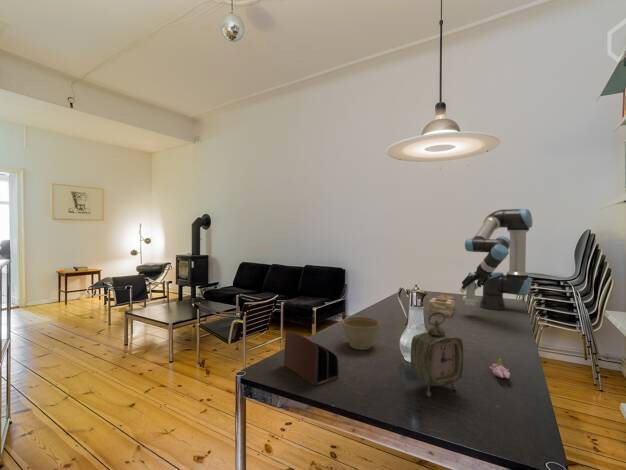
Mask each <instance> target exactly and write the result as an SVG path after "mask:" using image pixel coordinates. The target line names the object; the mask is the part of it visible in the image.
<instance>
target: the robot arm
mask: <svg viewBox="0 0 626 470" xmlns="http://www.w3.org/2000/svg"><path fill="white" fill-rule="evenodd" d="M532 227H533V217H532V213H531V211H530V209H528V208H511V209H499V210H496V211H493V212H492V213H490V214H489V215H487V216H486V217H485V218H484V220H483V222H482V225H481V226H480V228H479V229H478V231H477V232H476V233H475V235H474V236H473V237H472V238H467V239H466V240H465V241H464V249H465V251H466V252H471V253H487V254H486V256H485V257H484V259H483V260H482V261H481V262H480V264H479V265H478V266H477V267H476V271H474V272H473V273H472V272H469V273H468V275H467V276H466V277H465V278H464V279H463V281H462V282H461V284H462V286H461V288H460V289H459V291H460V293H461V294H464V293H465V292H466V289H467V288H468V286H469V285H470V284H471V283H472V282H474V281H475V291H476V290H478V289H479V288H482V296H481V298H480V301H479V307H480V308H482V309H487V310H492V311H505V310H506V309H507V306H506V305H507V304H506V302H505V298H504V294H507V295H508V294H509V295H517V296H527V295H529V293H530V291H531V287H532V277H530V276H529V273H528V272H526V271H527V270H526V260H527V259H526V253H527V251H526V249H527V246H526V245H527V244H526V243H527V233H528V232H529V231H530V229H531V228H532ZM499 228H505V229H507V232H508V233H509V237H506V236H504V235H502V236H498V237H496V239H492V238H491V237H492V235H493V234H494V232H495V231H496V230H498V229H499ZM508 255H509V261H508V262H509V266H508V267H509V270H508V271H507V272H506V275H505V274H504V273H503V272H501V271H500V272H499V271H498V272H495V270H496V269H497V268H498V266H499V265H501V264H502V262H504V260H505V259H506V258H507V257H508Z"/></svg>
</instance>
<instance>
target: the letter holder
mask: <svg viewBox="0 0 626 470" xmlns="http://www.w3.org/2000/svg"><path fill="white" fill-rule="evenodd" d="M284 338H285V339H284V353H283V354H284V356H283V365H284V367H286V368H287V369H289V370H290V369H291V370H290V371H292V372H293V371H294V372H293V373H295V372H296V373H297V374H296V373H295V374H296V375H298V374H299V375H300V376H299V375H298V376H299V377H301V376H302V377H304V378H305V379H307V380H308V381H307V380H306V381H307V382H309V381H310V382H311V383H310V382H309V383H310V384H312V383H313V384H314V385H313V384H312V385H313V386H315V385H319V384H321V385H324V384H326V382H327V383H329V382H332V381H335V380H338V379H339V358H338V356H337V354H335V353H334V352H333V351H331V350H329V349H328V348H326V347H325V346H323V345H320V344H318V343H316V342H313V341H312V340H310V339H308V338H307V337H305V336H304V335H301V334H299V333H296V332H292V331H285V336H284ZM302 377H301V378H302ZM304 378H303V379H304ZM337 378H338V379H337ZM305 379H304V380H305ZM323 383H324V384H323ZM319 386H320V385H319Z"/></svg>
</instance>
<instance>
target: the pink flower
mask: <svg viewBox="0 0 626 470" xmlns="http://www.w3.org/2000/svg"><path fill="white" fill-rule="evenodd" d="M488 368H489V369H491V370H492V373H493V374H494V375H495V376H497V377H499V378H501V379H502V378H506V379H509V378H510V376H511V373H510V372H509V371H510V369H509V368H506V367H504V365H503V362H502V359H501V358H498V360H497V363H494V362H492V365H491V366H489V367H488Z"/></svg>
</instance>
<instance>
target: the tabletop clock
mask: <svg viewBox="0 0 626 470" xmlns="http://www.w3.org/2000/svg"><path fill="white" fill-rule="evenodd" d="M436 314H441V315H443V316H442V318H443V319H442V320H441V321H440V322H439V320H435V321H434V322H433V323H432V322H431V321H430V320H431V318H432V317H433V316H436ZM427 319H428V320H427V321H428V322H427V323H428V324H429V325H431V326H430V327H429V328H428V331H426V332H422V333H419V334H416V335H414V336H412V340H411V342H410V367H411V370H412V372H413V375H414V377H417V378H418V379H419V380H422V381H423V382H424V383H426V385H427V390H426V391H425V395H426V397H431V396H432V393H431V391H430V389H431V388H432V387H441V386H447V385H450V384H451V386H450V387H451V389H452V390H453V391H456V390H457V388H458V387H457V385H456V384H455V382H457V381H459V380H460V379H461V378H462V375H463V374H462V373H463V369H464V346H463V345H464V344H463V341H462V339H461V338H459V337H457V336H453V335H451V334H449V333H447V332H445V330H444V328H443V326H440V325H442V324H444V322H445V320H446V317H445V315H444V314H443V313H441V312H435V313H432V314H431V315H429V316H428V318H427Z"/></svg>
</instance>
